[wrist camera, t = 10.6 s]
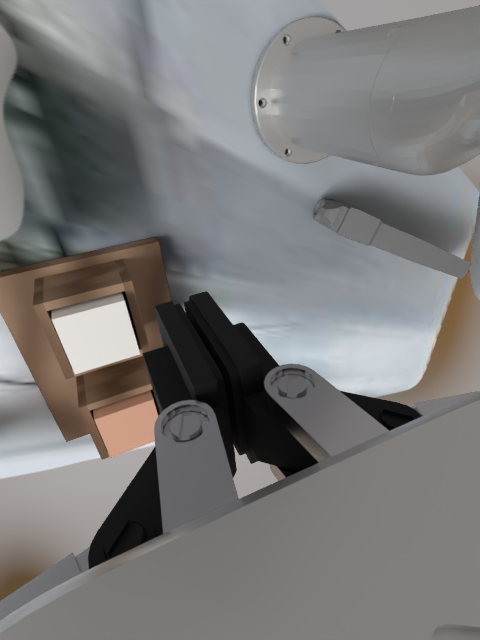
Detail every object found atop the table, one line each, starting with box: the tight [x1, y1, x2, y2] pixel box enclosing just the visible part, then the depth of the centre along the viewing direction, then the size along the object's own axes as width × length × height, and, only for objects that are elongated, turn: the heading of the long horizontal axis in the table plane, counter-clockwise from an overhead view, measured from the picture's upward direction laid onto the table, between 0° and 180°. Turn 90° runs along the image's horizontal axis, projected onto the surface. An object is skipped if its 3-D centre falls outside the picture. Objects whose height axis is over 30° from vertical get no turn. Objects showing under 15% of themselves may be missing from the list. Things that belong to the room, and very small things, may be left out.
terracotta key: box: [93, 390, 158, 458], centre depth 42 cm, size 6×6×5 cm
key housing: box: [0, 237, 171, 459], centre depth 41 cm, size 16×22×7 cm
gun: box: [313, 199, 471, 279], centre depth 50 cm, size 3×25×15 cm, turn 67°
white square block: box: [52, 292, 140, 374], centre depth 36 cm, size 6×6×5 cm
